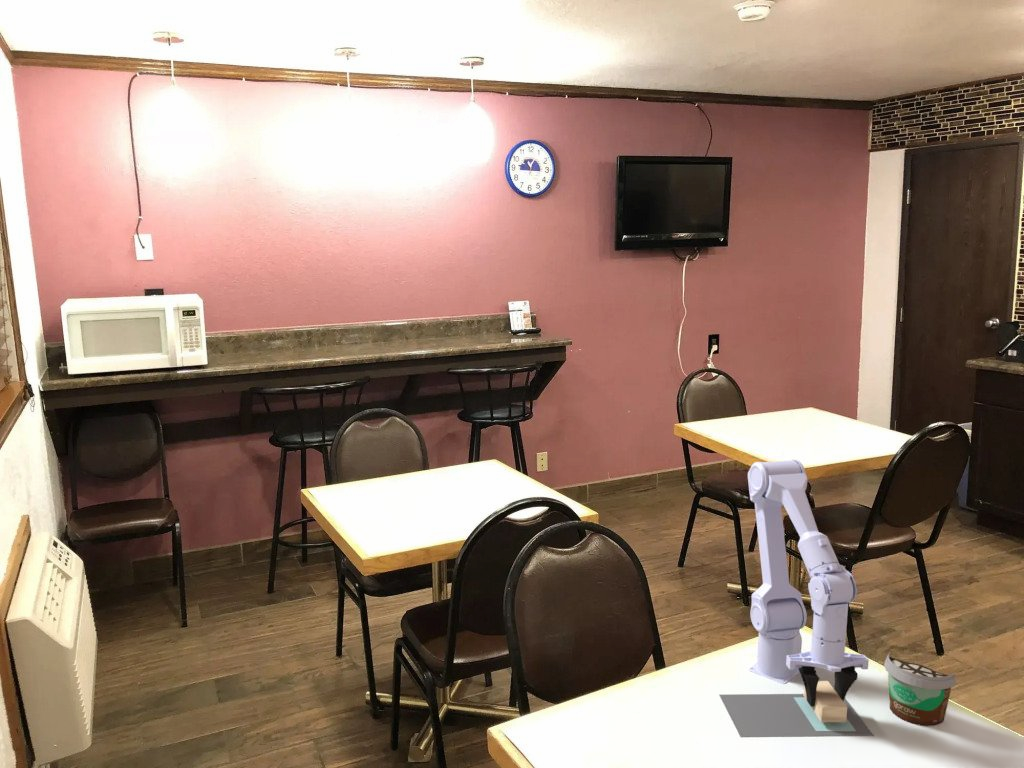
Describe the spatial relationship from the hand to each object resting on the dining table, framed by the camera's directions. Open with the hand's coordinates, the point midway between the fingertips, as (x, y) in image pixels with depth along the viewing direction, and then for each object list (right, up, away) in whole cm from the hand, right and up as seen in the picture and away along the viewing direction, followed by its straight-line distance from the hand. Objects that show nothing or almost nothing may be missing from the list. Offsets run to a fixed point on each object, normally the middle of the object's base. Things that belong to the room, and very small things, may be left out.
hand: (824, 703), depth 151 cm
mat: (-6, -3, 0) cm, 6 cm away
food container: (+16, -3, 0) cm, 17 cm away
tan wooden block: (0, -1, 0) cm, 1 cm away
